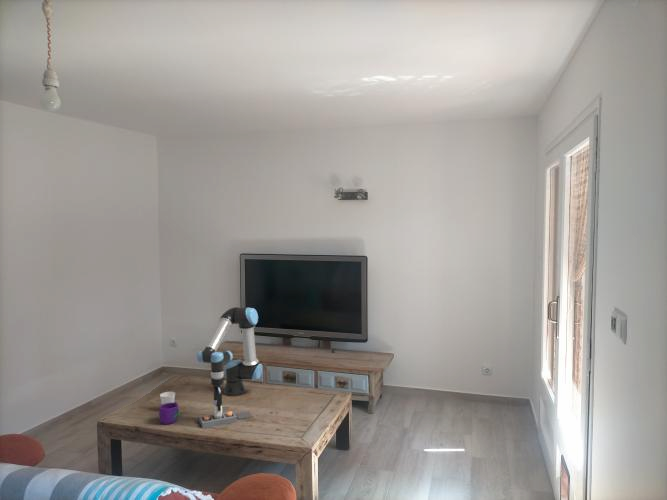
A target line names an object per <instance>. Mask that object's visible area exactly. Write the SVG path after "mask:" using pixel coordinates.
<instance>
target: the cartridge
mask: <svg viewBox="0 0 667 500" xmlns="http://www.w3.org/2000/svg"><path fill="white" fill-rule="evenodd" d="M216 405H217V400H213V414H214V420H215V419H221V418H222V413H223V405H222V406H221V416H217V406H216Z"/></svg>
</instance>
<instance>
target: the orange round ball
mask: <svg viewBox="0 0 667 500" xmlns="http://www.w3.org/2000/svg"><path fill="white" fill-rule="evenodd" d="M210 415H211V414H205V415H203V416H204V421H209V420H210Z"/></svg>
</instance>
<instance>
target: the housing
mask: <svg viewBox="0 0 667 500" xmlns="http://www.w3.org/2000/svg"><path fill="white" fill-rule="evenodd" d="M231 411H232V417H226V412H227V411H224V412H222V418H221V419H215V420H214V413H213V414H209V415H210V420H209V421H204V416H205V415H201V416H199V417H198V418H199V420H198V421H199V424H200V425H201V427H202V429H204V428H209V427H210V428H211V427H216V426H221V425H226V424H232V423H238V418H237V416H236V415H235V414H236V413H235V412H234V411H233V410H231Z"/></svg>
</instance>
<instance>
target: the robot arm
mask: <svg viewBox="0 0 667 500" xmlns="http://www.w3.org/2000/svg"><path fill="white" fill-rule="evenodd" d="M258 322H259V315H258V312H257V310H256V309H255V308H253V307H237V306H236V307H235V306H234V307H231V308H229V309H227V310H226V311H225V312H223V313H222V314H221V315H220V317H219V319H218V324H217V326H216V327H215V329H214V331H213V333H212V334H211V336H210V338H209V340H208V341H207V344H206V346H205V348H204V349H203V350H200V351H198V353H197V355H196V359H197V362H198V363H204V364H210V377H211V379H210V380H211V381H210V382H211V385H212V386H213V401H215V400H217V405H216V406H217V416H221V406H222V407H223V394H224V395H226V396H240V395H242V394H244V393H246V388H245V385H244V383H243V380H249V381H250V380H251V381H258V380H259V379H260V378H261V376H262V373H263V364H262V363H260V360H259V359H258V358H257V352H256V349H257V348H256V339H255V329H254V328H255V327H256V325H257V323H258ZM234 324H235V325H238V328H239V329H240V330H241V339H242V349H243V360H242V359H233V358H234V356H233V353H232V352H231V351H230V350H224V351H218V350H219V347H220V345H221V344H222V341H223V339H224V337H225V335H226V334H227V332H228V330H229V329H230V328H231V327H232V326H233V325H234ZM224 366H225V374H224ZM224 376H225V378H224ZM224 379H225V380H226V381H225V380H224ZM224 382H225V385H224V389H222V386H221V385H223V384H224Z"/></svg>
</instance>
